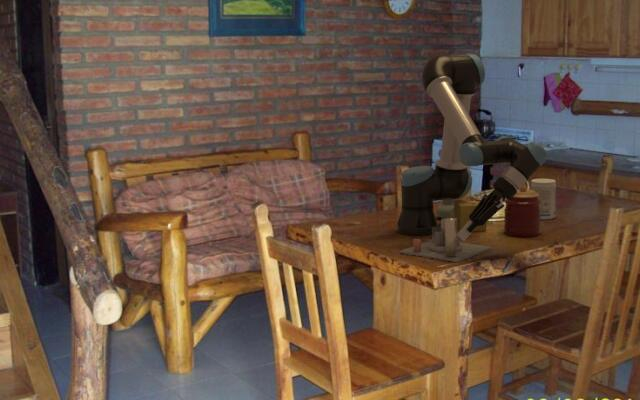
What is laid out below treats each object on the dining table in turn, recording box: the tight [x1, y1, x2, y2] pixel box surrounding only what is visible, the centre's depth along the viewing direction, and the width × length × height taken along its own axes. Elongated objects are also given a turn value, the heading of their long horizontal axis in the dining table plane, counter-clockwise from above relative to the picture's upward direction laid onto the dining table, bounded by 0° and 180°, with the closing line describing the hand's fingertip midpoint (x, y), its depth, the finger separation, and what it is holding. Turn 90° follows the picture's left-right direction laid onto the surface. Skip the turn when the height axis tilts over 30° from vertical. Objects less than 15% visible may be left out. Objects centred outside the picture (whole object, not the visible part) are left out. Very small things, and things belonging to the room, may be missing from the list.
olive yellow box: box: [454, 199, 487, 232], centre depth 326 cm, size 10×11×10 cm
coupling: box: [431, 217, 461, 256], centre depth 288 cm, size 16×8×12 cm, turn 2°
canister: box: [503, 185, 542, 237], centre depth 316 cm, size 13×13×18 cm
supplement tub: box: [530, 178, 557, 220], centre depth 342 cm, size 10×10×15 cm
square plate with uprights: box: [398, 218, 492, 263], centre depth 293 cm, size 22×22×11 cm
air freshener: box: [435, 198, 459, 219], centre depth 345 cm, size 11×8×10 cm
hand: (459, 238), depth 283 cm, fingers closed
